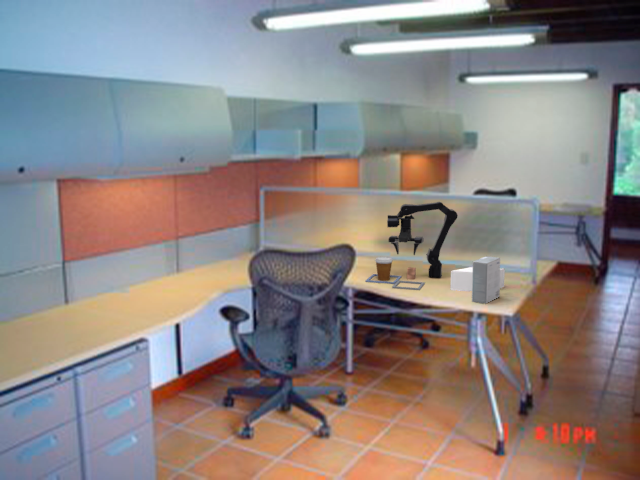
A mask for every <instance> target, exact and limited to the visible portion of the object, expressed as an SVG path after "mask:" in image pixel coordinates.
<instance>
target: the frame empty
mask: <svg viewBox="0 0 640 480" xmlns="http://www.w3.org/2000/svg"><path fill="white" fill-rule="evenodd" d="M400 283H401V284H414V285H419V286H417V287H408V286H398V285H399V284H400ZM425 283H426V282H423V281H412V280H411V281H409V280H398V281H397V282H396V283H395V284H392V286H391V289H397V290H398V289H400V290H410V291H420V290H421V289H422V288H423V287H424V285H425Z"/></svg>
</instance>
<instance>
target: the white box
mask: <svg viewBox="0 0 640 480" xmlns="http://www.w3.org/2000/svg"><path fill="white" fill-rule="evenodd" d="M472 272H473V266H470V267H465V268H459V269H453V270H451V271H450V291H456V290H457V291H460V292H470V291H472ZM505 274H506V271H505V268H500V288H501V289H503V288H502V287H504V288H505Z"/></svg>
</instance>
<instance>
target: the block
mask: <svg viewBox="0 0 640 480" xmlns="http://www.w3.org/2000/svg"><path fill="white" fill-rule="evenodd" d="M416 270H417V268H416V267H411V266H409V267H407V268H406V271H407V272H406V280H411V281H412V280H413V281H414V280H416V278H417V275H416V274H417V271H416Z"/></svg>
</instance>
